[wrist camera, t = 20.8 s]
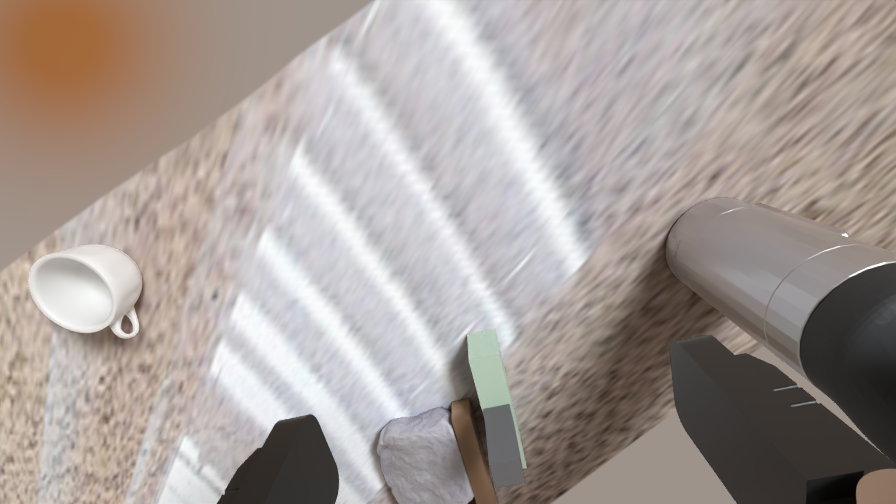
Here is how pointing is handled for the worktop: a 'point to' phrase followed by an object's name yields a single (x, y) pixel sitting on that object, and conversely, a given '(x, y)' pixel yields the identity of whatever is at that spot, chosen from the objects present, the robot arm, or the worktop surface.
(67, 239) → the worktop surface
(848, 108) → the worktop surface
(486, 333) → the board
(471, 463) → the wooden u-shaped frame
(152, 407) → the worktop surface
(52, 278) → the teacup
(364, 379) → the worktop surface
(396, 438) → the stone block
